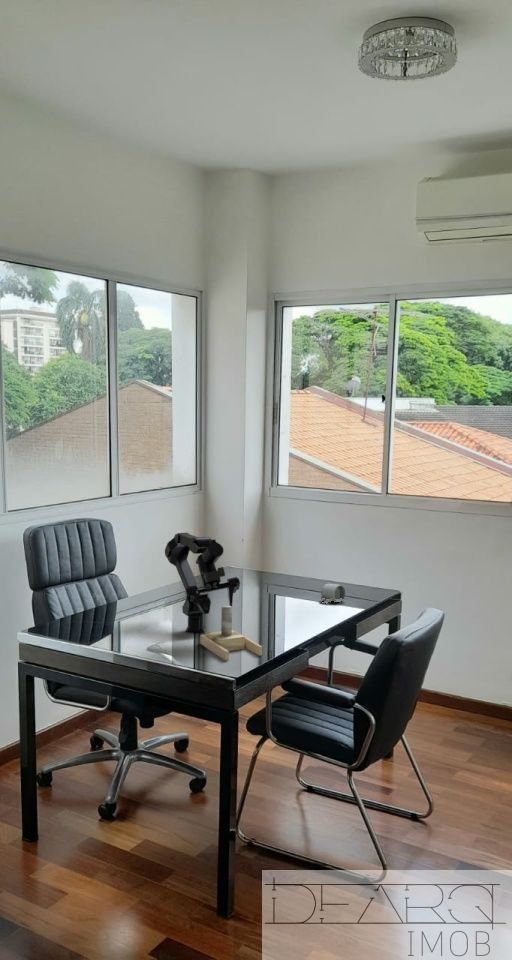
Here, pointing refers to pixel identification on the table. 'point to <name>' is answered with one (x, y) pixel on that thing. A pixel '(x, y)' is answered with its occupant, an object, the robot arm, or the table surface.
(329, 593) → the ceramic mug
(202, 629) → the robot arm
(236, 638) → the peg on wooden base
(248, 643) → the frame
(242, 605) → the table surface
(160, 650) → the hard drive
